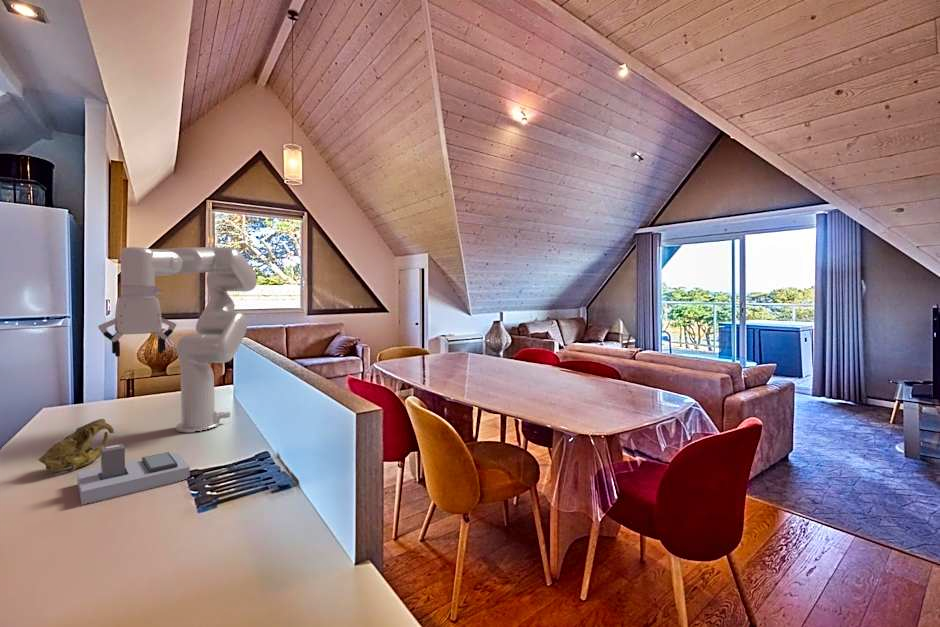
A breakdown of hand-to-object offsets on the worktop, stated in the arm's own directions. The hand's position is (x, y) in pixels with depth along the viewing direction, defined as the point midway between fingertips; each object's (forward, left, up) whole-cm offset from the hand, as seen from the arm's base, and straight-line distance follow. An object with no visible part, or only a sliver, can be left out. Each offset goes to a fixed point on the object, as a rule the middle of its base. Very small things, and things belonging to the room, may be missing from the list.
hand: (139, 354), depth 122 cm
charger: (+8, +20, -28) cm, 35 cm away
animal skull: (+13, -1, -29) cm, 31 cm away
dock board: (+4, +20, -28) cm, 35 cm away
